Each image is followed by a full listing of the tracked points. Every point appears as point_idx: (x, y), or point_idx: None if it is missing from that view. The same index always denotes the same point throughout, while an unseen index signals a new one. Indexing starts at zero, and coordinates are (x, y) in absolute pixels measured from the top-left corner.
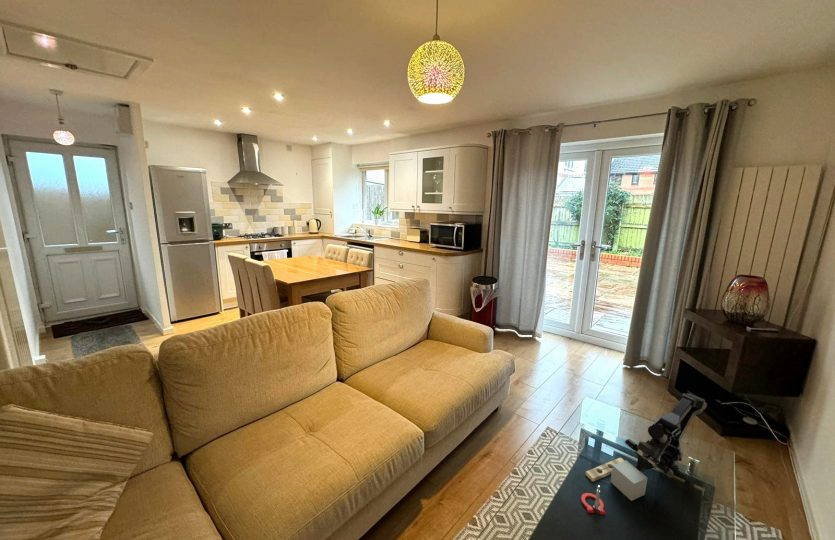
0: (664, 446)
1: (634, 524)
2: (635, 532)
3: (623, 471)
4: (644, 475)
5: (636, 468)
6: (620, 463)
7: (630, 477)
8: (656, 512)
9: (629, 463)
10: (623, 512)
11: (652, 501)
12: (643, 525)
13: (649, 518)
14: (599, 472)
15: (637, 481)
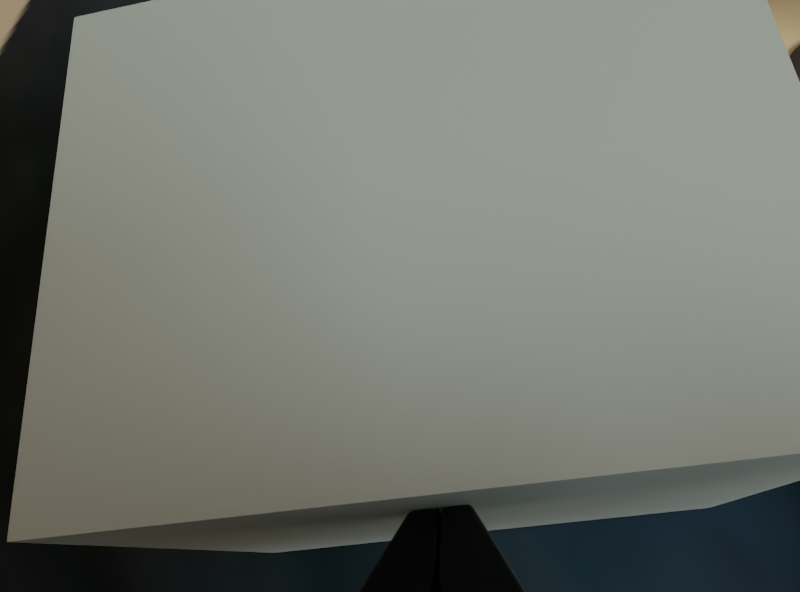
0: None
1: (58, 79)
2: (8, 35)
3: (450, 11)
4: (111, 516)
5: (484, 561)
6: (766, 118)
7: (232, 52)
8: (17, 452)
9: (721, 431)
10: None
11: (144, 566)
12: (7, 156)
13: (18, 286)
14: (794, 51)
15: (78, 134)
